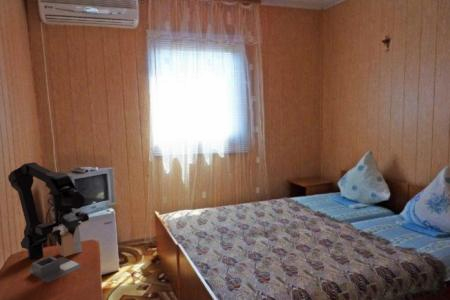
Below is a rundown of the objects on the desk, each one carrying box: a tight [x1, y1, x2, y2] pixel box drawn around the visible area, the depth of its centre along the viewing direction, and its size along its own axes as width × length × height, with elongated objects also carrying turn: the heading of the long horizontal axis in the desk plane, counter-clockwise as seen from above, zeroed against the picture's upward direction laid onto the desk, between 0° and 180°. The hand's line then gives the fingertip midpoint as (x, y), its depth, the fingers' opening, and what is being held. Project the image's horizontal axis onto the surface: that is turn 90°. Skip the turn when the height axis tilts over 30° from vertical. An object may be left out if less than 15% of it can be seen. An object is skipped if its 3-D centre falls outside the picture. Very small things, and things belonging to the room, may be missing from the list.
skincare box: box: [62, 225, 83, 256], centre depth 138 cm, size 8×6×15 cm
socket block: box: [27, 255, 84, 284], centre depth 123 cm, size 16×14×5 cm
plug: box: [57, 231, 74, 258], centre depth 124 cm, size 4×4×9 cm
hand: (65, 243), depth 124 cm, fingers closed on plug, 4 cm apart
